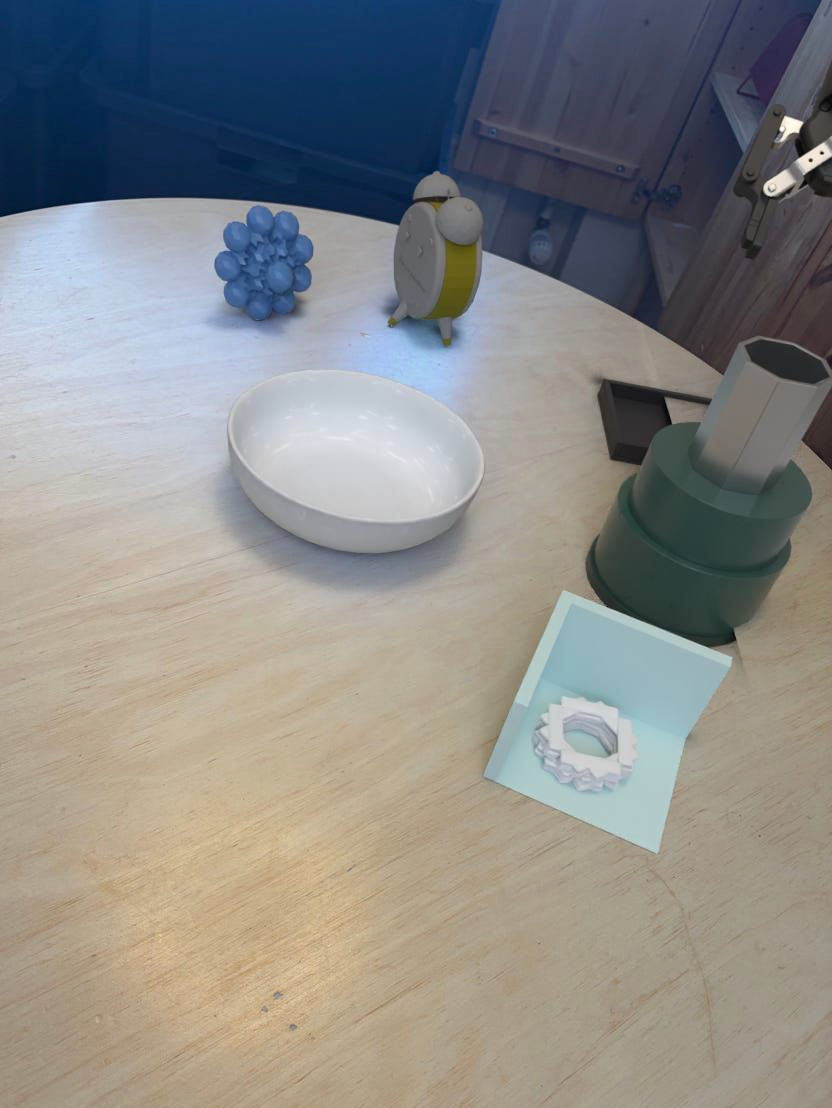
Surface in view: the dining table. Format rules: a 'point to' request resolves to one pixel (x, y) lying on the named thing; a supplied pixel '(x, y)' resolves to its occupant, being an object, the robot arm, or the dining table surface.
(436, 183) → the alarm clock
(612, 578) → the green stepped cylinder
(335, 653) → the dining table surface
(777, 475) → the cup
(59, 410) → the dining table surface
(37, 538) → the dining table surface
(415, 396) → the serving bowl
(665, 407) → the tray
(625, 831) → the l-shaped corner panel
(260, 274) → the blue knobbed cluster
